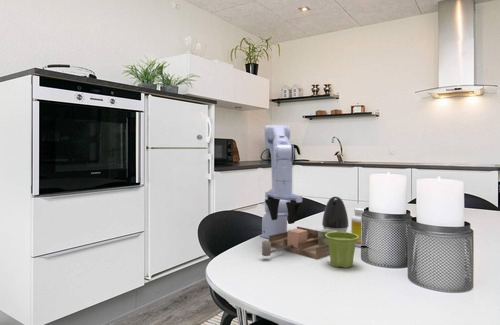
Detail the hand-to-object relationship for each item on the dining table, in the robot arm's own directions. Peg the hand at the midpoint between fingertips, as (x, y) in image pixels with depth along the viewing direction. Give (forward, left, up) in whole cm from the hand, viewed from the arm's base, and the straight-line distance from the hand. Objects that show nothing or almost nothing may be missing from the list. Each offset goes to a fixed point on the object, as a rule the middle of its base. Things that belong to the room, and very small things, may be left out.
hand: (282, 221), depth 115 cm
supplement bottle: (+14, +26, -10) cm, 31 cm away
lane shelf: (+3, +9, -10) cm, 14 cm away
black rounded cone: (-1, +33, -10) cm, 35 cm away
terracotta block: (+3, -3, -8) cm, 9 cm away
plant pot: (+21, +2, -10) cm, 23 cm away
